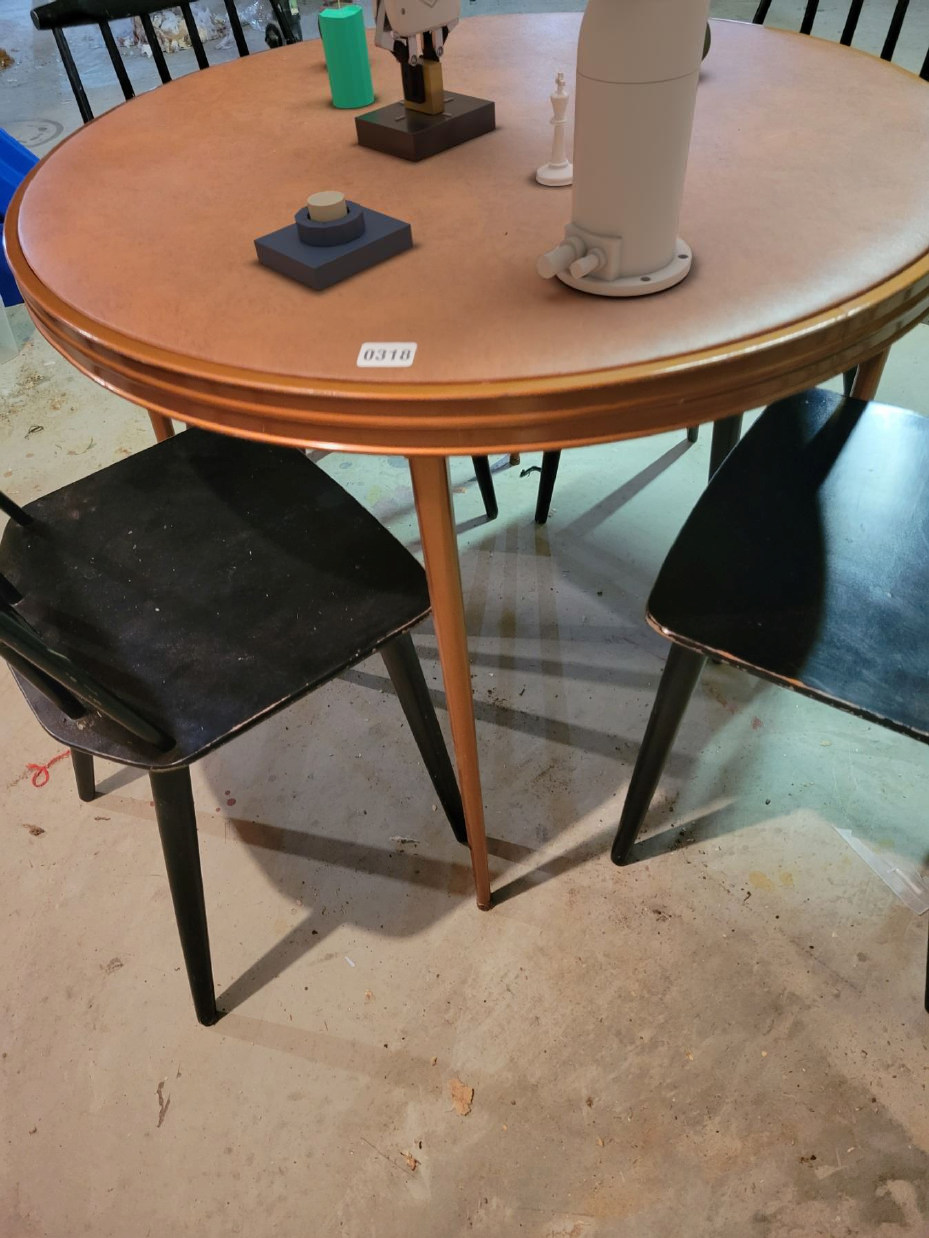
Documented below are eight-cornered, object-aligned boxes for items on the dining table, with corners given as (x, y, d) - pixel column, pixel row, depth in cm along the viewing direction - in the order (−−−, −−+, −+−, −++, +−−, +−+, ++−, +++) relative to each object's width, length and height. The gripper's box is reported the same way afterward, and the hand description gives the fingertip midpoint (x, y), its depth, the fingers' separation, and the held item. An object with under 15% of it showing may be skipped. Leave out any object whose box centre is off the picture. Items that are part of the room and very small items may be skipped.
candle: (380, 95, 112) (367, -10, 103) (366, 109, 108) (350, 1, 99) (342, 95, 113) (325, -9, 104) (326, 108, 109) (308, 2, 100)
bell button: (325, 228, 73) (321, 208, 72) (303, 219, 75) (299, 199, 74) (355, 215, 75) (351, 196, 73) (332, 206, 76) (328, 187, 75)
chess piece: (545, 189, 85) (546, 82, 77) (530, 174, 88) (529, 70, 81) (586, 181, 86) (592, 74, 78) (570, 167, 89) (574, 63, 81)
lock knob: (445, 110, 96) (441, 60, 92) (433, 115, 95) (429, 64, 91) (416, 103, 98) (411, 53, 94) (404, 107, 98) (399, 57, 94)
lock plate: (415, 162, 93) (412, 132, 91) (358, 144, 99) (353, 116, 96) (495, 128, 99) (494, 100, 97) (437, 113, 105) (435, 86, 102)
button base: (318, 291, 72) (309, 248, 69) (259, 262, 77) (247, 221, 74) (413, 246, 77) (408, 204, 74) (351, 222, 83) (344, 181, 80)
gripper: (370, -89, 77) (394, 122, 91) (483, -113, 83) (490, 86, 97) (324, -92, 80) (355, 111, 94) (436, -115, 87) (449, 77, 101)
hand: (423, 97), depth 96 cm, fingers closed on lock knob, 2 cm apart
